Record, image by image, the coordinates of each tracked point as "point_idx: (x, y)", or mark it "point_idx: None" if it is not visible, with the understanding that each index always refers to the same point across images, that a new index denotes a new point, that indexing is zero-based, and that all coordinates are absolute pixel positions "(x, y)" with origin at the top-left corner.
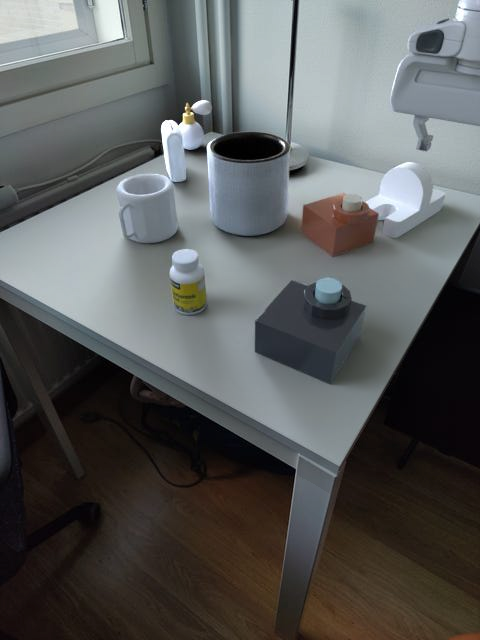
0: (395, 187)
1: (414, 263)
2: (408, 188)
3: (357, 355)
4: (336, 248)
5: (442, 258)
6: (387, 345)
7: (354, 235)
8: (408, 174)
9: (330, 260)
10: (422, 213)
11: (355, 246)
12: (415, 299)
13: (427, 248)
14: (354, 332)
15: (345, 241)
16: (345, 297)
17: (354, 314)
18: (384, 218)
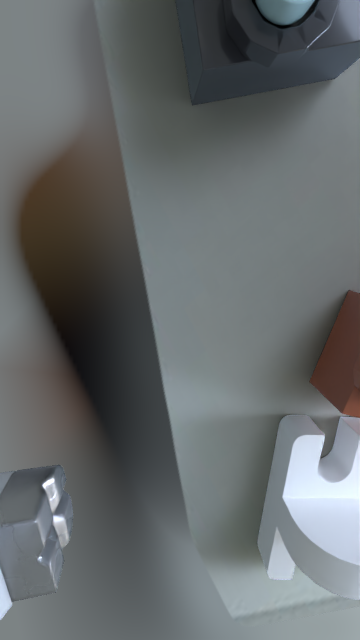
0: (356, 520)
1: (219, 372)
2: (332, 527)
3: (169, 54)
4: (355, 300)
5: (188, 417)
6: (142, 121)
7: (346, 345)
8: (356, 554)
9: (346, 278)
10: (274, 501)
11: (328, 343)
12: (168, 277)
13: (222, 427)
14: (188, 22)
15: (352, 322)
16: (246, 5)
17: (207, 16)
18: (326, 458)
